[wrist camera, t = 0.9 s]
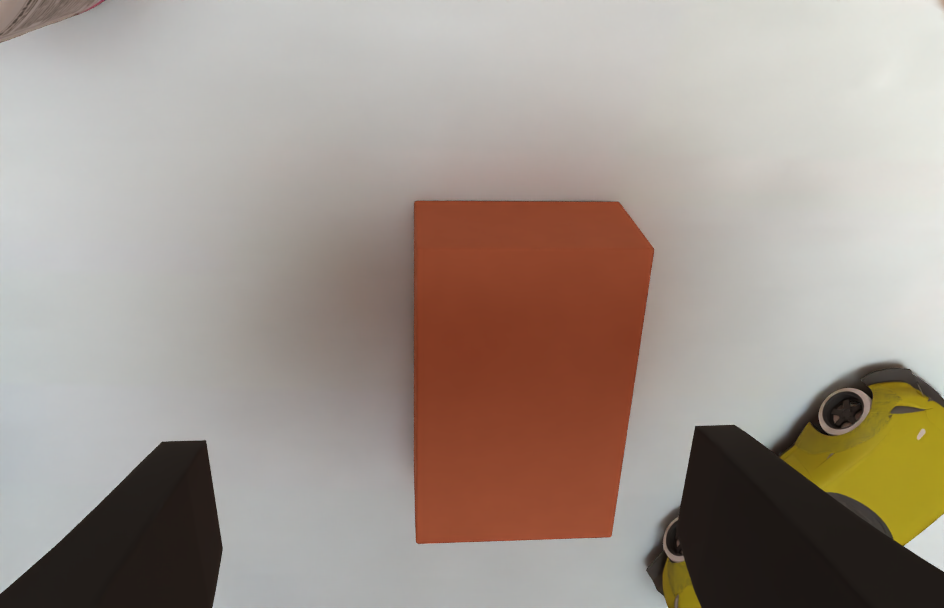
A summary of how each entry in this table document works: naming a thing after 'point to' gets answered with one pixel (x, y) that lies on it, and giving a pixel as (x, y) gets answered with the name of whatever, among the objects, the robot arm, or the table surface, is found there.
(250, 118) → the table surface
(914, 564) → the robot arm
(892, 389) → the toy car
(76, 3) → the pill bottle
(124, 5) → the table surface
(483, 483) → the pad
